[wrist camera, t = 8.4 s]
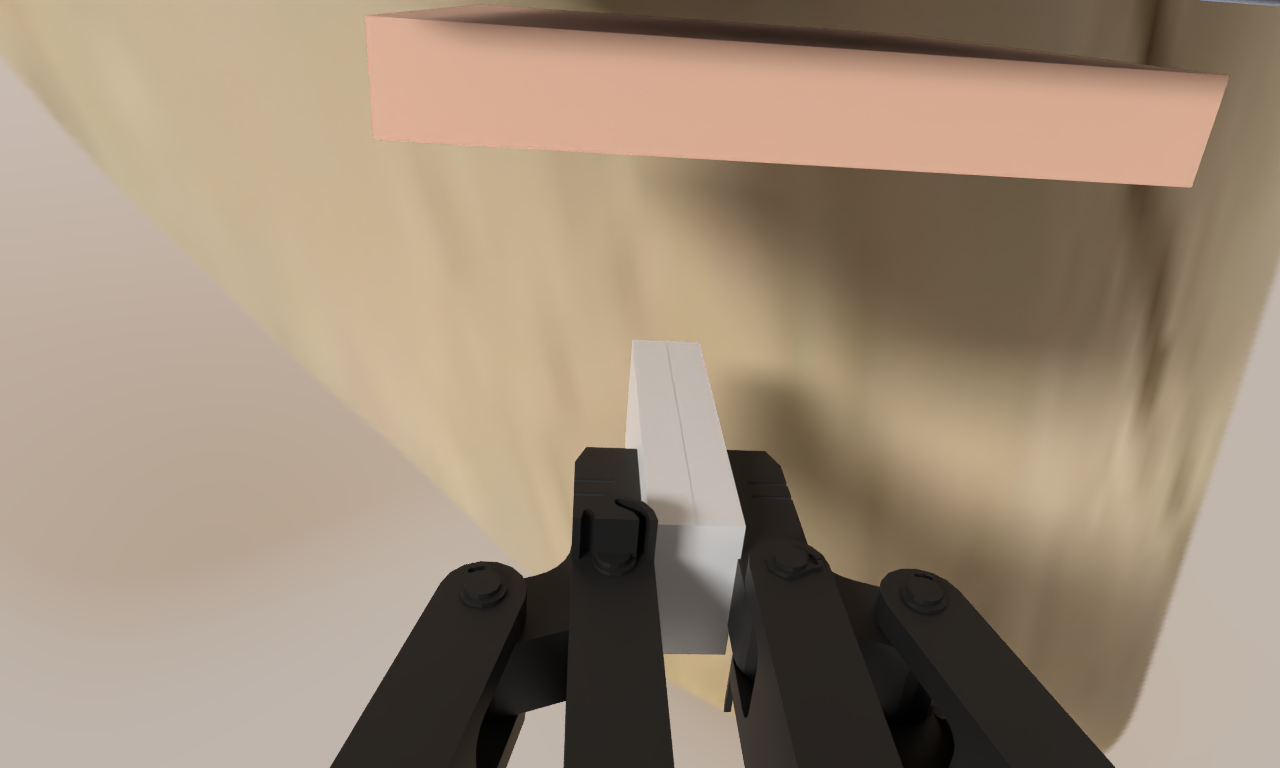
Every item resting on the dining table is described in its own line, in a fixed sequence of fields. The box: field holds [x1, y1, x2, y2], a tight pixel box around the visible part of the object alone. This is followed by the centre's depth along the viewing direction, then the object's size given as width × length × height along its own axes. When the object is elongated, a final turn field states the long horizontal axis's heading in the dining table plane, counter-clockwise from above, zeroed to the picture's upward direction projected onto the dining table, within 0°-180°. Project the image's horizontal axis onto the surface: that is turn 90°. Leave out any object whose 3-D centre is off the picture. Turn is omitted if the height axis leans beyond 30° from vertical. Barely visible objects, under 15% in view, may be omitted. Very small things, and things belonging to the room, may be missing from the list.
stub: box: [365, 5, 1230, 188], centre depth 11 cm, size 8×8×1 cm
